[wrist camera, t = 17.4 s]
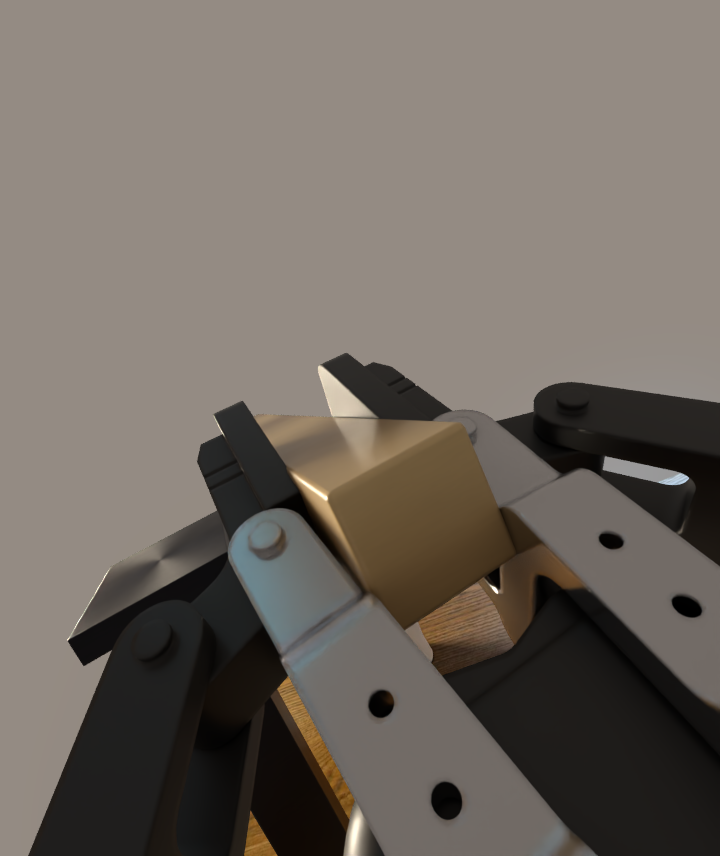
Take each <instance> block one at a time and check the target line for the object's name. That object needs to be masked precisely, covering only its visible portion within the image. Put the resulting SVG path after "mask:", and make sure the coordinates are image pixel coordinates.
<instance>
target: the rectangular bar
mask: <svg viewBox="0 0 720 856" xmlns="http://www.w3.org/2000/svg"><path fill="white" fill-rule="evenodd" d="M254 418H255V420H256V421H257V423H258V424H259V426H260V427H261V429H262V430H263V432H264V433H265V435H266V436H267V438H268V439H269V441H270V442H271V444H272V445H273V447H274V448H275V450H276V451H277V453H278V454H279V456H280V457H281V459H282V460H283V462H284V463H285V465H286V466H287V468H286V469H287V473H288V475H289V476H290V478H291V479H292V481H293V482H294V484H295V485H296V487H297V488H298V490H299V491H300V494H301V496H302V499H303V501H304V504H305V506H306V508H307V511H308V513H309V516H310V518H311V520H312V523H313V525H314V528H315V530H316V532H317V535H318V537H319V539H320V540H321V541H322V542H323V544H324V545H325V546H326V547H327V549H328V550H329V551H330V552H331V554H332V555H333V556H334V557H335V559H336V560H337V561H338V562H339V564H340V565H341V566H342V567H343V569H344V570H345V571H346V572H347V574H348V575H349V576H350V577H351V579H352V580H353V581H354V582H355V584H356V585H357V586H358V587H359V588H360V589H361V590H362V591H363V592H364V593H365V592H366V591H369V592H371V593H372V594H373V595H375V596H376V597H377V598H378V600H379V601H380V602H381V603H382V604H383V605H384V606H385V608H386V609H387V610H388V611H389V612H390V614H391V615H392V616H393V617H394V619H395V620H396V621H397V622H398V623H399V625H400V626H401V627H402V628H403V629H404V631H405V630H406V629H408V628H409V627H411V626H412V625H414V624H415V623H416V622H418V621H419V620H421V619H422V618H424V617H425V616H427V615H428V614H430V613H431V612H433V611H434V610H436V609H437V608H439V607H440V606H442V605H443V604H445V603H446V602H448V601H449V600H451V599H452V598H454V597H455V596H457V595H458V594H460V593H461V592H463V591H464V590H466V589H467V588H469V587H470V586H472V585H473V584H475V583H476V582H478V581H479V580H481V579H482V578H484V577H485V576H487V575H488V574H490V573H491V572H493V571H494V570H496V569H497V568H498V567H500V566H501V565H503V564H504V563H506V562H507V561H509V560H510V559H512V558H513V557H514V556H515V555H516V550H515V548H514V545H513V542H512V540H511V537H510V534H509V532H508V529H507V527H506V524H505V522H504V519H503V517H502V515H501V512H500V510H499V507H498V505H497V503H496V500H495V498H494V495H493V493H492V491H491V488H490V486H489V483H488V481H487V479H486V476H485V474H484V472H483V469H482V467H481V464H480V462H479V460H478V457H477V455H476V452H475V450H474V448H473V445H472V443H471V440H470V438H469V436H468V433H467V431H466V428H465V427H464V426H463V424H462V423H460V422H442V421H417V420H391V419H365V418H340V417H314V416H289V415H264V414H258V415H256V416H254Z"/></svg>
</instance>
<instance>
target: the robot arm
mask: <svg viewBox="0 0 720 856" xmlns="http://www.w3.org/2000/svg"><path fill="white" fill-rule="evenodd" d="M318 372H319V376H320V379H321V382H322V386H323V389H324V392H325V395H326V398H327V402H328V405H329V408H330V411H331V415H332V417H340V418H365V419H391V420H417V421H442V422H460V423H462V424H463V426H464V427H465V428H466V431H467V433H468V436H469V438H470V440H471V443H472V445H473V448H474V450H475V452H476V455H477V457H478V460H479V462H480V464H481V467H482V469H483V472H484V474H485V476H486V479H487V481H488V483H489V486H490V488H491V491H492V493H493V495H494V498H495V500H496V503H497V505H498V507H499V510H500V512H501V515H502V517H503V519H504V522H505V524H506V527H507V529H508V532H509V534H510V537H511V540H512V542H513V545H514V548H515V550H516V555H515V556H514V557H513V558H512V559H510V560H509V561H507V562H506V563H504V564H503V565H501V566H500V567H498V568H497V569H496V570H494V571H493V572H491V573H490V574H488V575H487V576H485V577H484V578H482V579H481V580H479V581H478V583H479V584H480V586H481V587H482V588H483V590H484V591H485V592H486V594H487V595H488V596H489V597H490V599H491V600H492V602H493V603H494V605H495V607H496V608H497V610H498V613H499V615H500V618H501V620H502V623H503V625H504V627H505V629H506V631H507V633H508V635H509V637H510V638H511V640H512V641H513V643H514V644H515V645H514V646H513V647H512V648H511V649H510V650H509V651H507V652H505V653H503V654H501V655H498V656H495V657H492V658H490V659H487V660H484V661H481V662H479V663H476V664H473V665H470V666H467V667H465V668H462V669H459V670H456V671H454V672H451V673H448V674H445V675H443V676H441V674H440V673H439V672H438V671H437V669H436V668H435V667H434V666H433V665H432V663H431V662H430V661H429V660H428V659H427V657H426V656H425V655H424V654H423V652H422V651H421V650H420V649H419V648H418V646H417V645H416V644H415V643H414V642H413V640H412V639H411V638H410V637H409V636H408V634H407V633H406V632H405V631H404V629H403V628H402V627H401V626H400V625H399V623H398V622H397V621H396V620H395V619H394V617H393V616H392V615H391V614H390V612H389V611H388V610H387V609H386V608H385V606H384V605H383V604H382V603H381V602H380V601H379V600H378V598H377V597H376V596H375V595H373V594H372V593H371V592H369V591H366V592H365V593H364V592H363V591H362V590H361V589H360V588H359V587H358V586H357V585H356V584H355V582H354V581H353V580H352V579H351V577H350V576H349V575H348V574H347V572H346V571H345V570H344V569H343V567H342V566H341V565H340V564H339V562H338V561H337V560H336V559H335V557H334V556H333V555H332V554H331V552H330V551H329V550H328V549H327V547H326V546H325V545H324V544H323V542H322V541H321V540H320V539H319V537H318V535H317V532H316V530H315V528H314V525H313V523H312V520H311V518H310V516H309V513H308V511H307V508H306V506H305V504H304V501H303V499H302V496H301V494H300V491H299V490H298V488H297V487H296V485H295V484H294V482H293V481H292V479H291V478H290V476H289V475H288V473H287V469H286V468H287V466H286V465H285V463H284V462H283V460H282V459H281V457H280V456H279V454H278V453H277V451H276V450H275V448H274V447H273V445H272V444H271V442H270V441H269V439H268V438H267V436H266V435H265V433H264V432H263V430H262V429H261V427H260V426H259V424H258V423H257V421H256V420H255V418H254V417H253V415H252V414H251V412H250V411H249V410H248V408H247V406H246V405H245V403H244V402H243V401H241V402H238V403H236V404H234V405H232V406H230V407H228V408H226V409H223V410H221V411H219V412H217V413H215V414H213V416H214V418H215V419H216V421H217V424H218V425H219V427H220V429H221V431H222V433H223V434H222V435H220V436H218V437H216V438H214V439H211V440H209V441H207V442H205V443H203V444H201V447H200V451H199V455H198V461H197V462H198V465H199V467H200V470H201V472H202V475H203V477H204V479H205V482H206V484H207V487H208V489H209V491H210V494H211V496H212V499H213V501H214V503H215V506H216V508H217V511H218V513H219V516H220V518H221V521H222V523H223V525H224V528H225V530H226V533H227V535H228V538H229V547H228V559H227V561H226V564H225V566H224V568H223V569H222V571H221V573H220V574H219V575H218V577H217V578H216V579H215V580H214V581H213V582H212V583H211V585H210V586H209V587H207V588H206V589H205V590H204V591H203V592H202V593H201V594H200V595H199V596H198V597H197V598H196V599H195V600H194V601H192V602H191V603H188V602H186V601H182V600H169V601H164V602H161V603H158V604H156V605H154V606H152V607H150V608H148V609H146V610H145V611H143V612H142V613H140V614H139V615H138V616H137V617H135V618H134V619H133V620H132V621H131V622H130V623H129V624H128V625H127V626H126V628H125V629H124V630H123V631H122V633H121V634H120V636H119V637H118V639H117V640H116V643H115V645H114V647H113V649H112V652H111V654H110V656H109V659H108V661H107V664H106V666H105V669H104V671H103V673H102V676H101V678H100V681H99V683H98V686H97V688H96V691H95V693H94V695H93V698H92V700H91V703H90V705H89V708H88V710H87V713H86V715H85V718H84V720H83V723H82V725H81V727H80V730H79V733H78V735H77V737H76V740H75V742H74V745H73V747H72V750H71V752H70V754H69V757H68V759H67V762H66V764H65V767H64V769H63V772H62V774H61V777H60V779H59V782H58V784H57V787H56V789H55V791H54V794H53V796H52V799H51V801H50V804H49V806H48V809H47V811H46V813H45V816H44V818H43V821H42V824H41V826H40V828H39V831H38V833H37V836H36V838H35V841H34V843H33V845H32V848H31V851H30V853H29V855H28V856H244V852H245V845H246V838H247V831H248V823H249V816H250V809H251V802H252V795H253V788H254V781H255V774H256V766H257V759H258V752H259V745H260V738H261V731H262V724H263V717H264V706H265V705H264V704H265V702H266V701H267V700H268V699H269V698H270V697H271V695H272V694H273V693H274V692H275V691H276V689H277V688H278V687H279V686H280V685H281V684H282V682H283V681H284V680H285V679H286V678H287V677H288V676H289V678H290V680H291V682H292V684H293V685H294V687H295V689H296V691H297V693H298V695H299V697H300V699H301V700H302V702H303V704H304V706H305V708H306V710H307V712H308V713H309V715H310V717H311V719H312V721H313V723H314V725H315V726H316V728H317V730H318V732H319V734H320V736H321V738H322V739H323V741H324V743H325V745H326V747H327V749H328V751H329V752H330V754H331V756H332V758H333V760H334V762H335V764H336V765H337V767H338V769H339V771H340V773H341V775H342V777H343V778H344V780H345V782H346V784H347V786H348V788H349V790H350V792H351V793H352V795H353V797H354V799H355V802H354V805H353V808H352V811H351V815H350V820H349V824H348V829H347V833H346V839H345V846H344V854H343V856H720V403H716V402H709V401H703V400H695V399H689V398H682V397H675V396H668V395H661V394H653V393H647V392H640V391H633V390H626V389H619V388H612V387H605V386H598V385H592V384H585V383H575V382H567V383H558V384H554V385H551V386H548V387H547V388H544V389H543V390H541V391H540V392H539V393H538V394H537V395H536V397H535V399H534V412H531V413H527V414H523V415H520V416H516V417H512V418H508V419H504V420H499V421H494V420H493V419H492V418H491V417H489V416H487V415H485V414H484V413H481V412H478V411H473V410H457V411H452V410H450V409H449V408H447V407H446V406H445V405H443V404H442V403H441V402H439V401H438V400H436V399H435V398H434V397H432V396H431V395H430V394H428V393H427V392H425V391H424V390H423V389H421V388H420V387H419V386H415V384H414V383H413V382H412V381H410V380H409V379H408V378H405V377H404V376H403V375H402V374H401V373H399V372H398V371H396V370H395V369H394V368H393V367H390V366H386V365H382V364H378V363H374V362H373V363H371V364H369V365H367V366H363V365H362V364H361V363H359V362H358V361H357V360H355V359H354V358H353V357H352V356H350V355H349V354H348V353H344V354H342V355H340V356H338V357H336V358H334V359H332V360H329V361H327V362H325V363H323V364H321V365H319V366H318ZM605 456H607V457H612V458H617V459H621V460H626V461H630V462H635V463H640V464H644V465H649V466H654V467H658V468H663V469H668V470H673V471H677V472H680V473H682V474H684V475H686V476H688V477H689V480H688V481H686V482H685V483H683V484H680V485H665V484H661V483H657V482H652V481H648V480H643V479H639V478H635V477H630V476H626V475H622V474H617V473H613V472H608V471H604V470H603V464H604V458H605Z"/></svg>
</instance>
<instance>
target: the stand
mask: <svg viewBox="0 0 720 856" xmlns="http://www.w3.org/2000/svg"><path fill="white" fill-rule="evenodd" d="M228 547H229V538H228V535H227V533H226V530H225V528H224V525H223V523H222V521H221V518H220V516H219V513H218V511H216V512H214V513H212V514H210V515H208V516H206V517H204V518H202V519H200V520H198V521H197V522H195V523H193V524H191V525H189V526H187V527H185V528H183V529H181V530H179V531H178V532H176V533H174V534H172V535H170V536H168V537H166V538H164V539H163V540H160V541H158V542H157V543H155V544H153V545H151V546H149V547H147V548H145V549H143V550H141V551H139V552H138V553H136V554H134V555H132V556H130V557H128V558H126V559H124V560H122V561H120V562H119V563H117V564H115V565H113V566H111V568H110V569H109V571H108V573H107V574H106V576H105V578H104V579H103V581H102V583H101V584H100V586H99V588H98V590H97V591H96V593H95V595H94V596H93V598H92V600H91V602H90V603H89V605H88V606H87V608H86V610H85V612H84V613H83V615H82V617H81V618H80V620H79V622H78V623H77V625H76V627H75V628H74V630H73V632H72V634H71V635H70V637H69V639H68V642H69V644H70V646H71V647H72V649H73V650H74V652H75V653H76V655H77V657H78V658H79V660H80V661H81V663H82V664H83V666H85V665H87V664H88V663H90V662H92V661H94V660H95V659H97V658H99V657H100V656H102V655H104V654H106V653H108V652H109V651H111V650H112V649H113V647H114V645H115V643H116V640H117V639H118V637H119V636H120V634H121V633H122V631H123V630H124V629H125V628H126V626H127V625H128V624H129V623H130V622H131V621H132V620H133V619H134V618H135V617H137V616H138V615H139V614H140V613H142V612H143V611H145V610H146V609H148V608H150V607H152V606H154V605H156V604H158V603H161V602H164V601H169V600H182V601H186V602H188V603H191V602H192V601H194V600H195V599H196V598H197V597H198V596H199V595H200V594H201V593H202V592H203V591H204V590H205V589H206V588H207V587H209V586H210V585H211V583H212V582H213V581H214V580H215V579H216V578H217V577H218V575H219V574H220V573H221V571H222V569H223V568H224V566H225V564H226V561H227V559H228ZM264 705H265V706H264V717H263V724H262V731H261V738H260V745H259V752H258V759H257V766H256V774H255V781H254V788H253V795H252V802H251V809H250V810H251V812H252V814H253V815H254V817H255V819H256V820H257V822H258V824H259V825H260V827H261V829H262V830H263V832H264V834H265V835H266V837H267V839H268V840H269V842H270V844H271V845H272V847H273V849H274V850H275V852H276V854H277V855H278V856H343V854H344V846H345V839H346V833H347V829H348V824H349V819H348V817H347V815H346V813H345V811H344V810H343V808H342V806H341V804H340V802H339V801H338V799H337V797H336V795H335V793H334V791H333V790H332V788H331V786H330V784H329V782H328V781H327V779H326V777H325V775H324V773H323V772H322V770H321V768H320V766H319V764H318V763H317V761H316V759H315V757H314V755H313V754H312V752H311V750H310V748H309V746H308V744H307V743H306V741H305V739H304V737H303V735H302V734H301V732H300V730H299V728H298V726H297V725H296V723H295V721H294V719H293V717H292V716H291V714H290V712H289V710H288V708H287V706H286V705H285V703H284V701H283V699H282V697H281V696H280V694H279V692H278V690H277V689H276V691H275V692H274V693H273V694H272V695H271V697H270V698H269V699H268V700H267V701H266V702H265V704H264Z"/></svg>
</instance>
